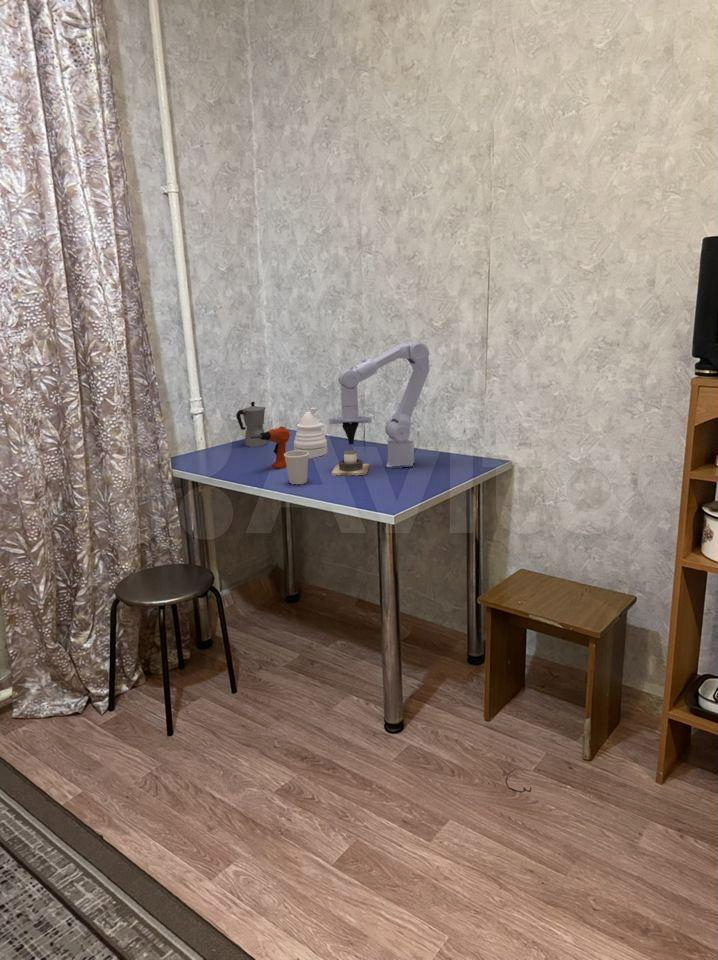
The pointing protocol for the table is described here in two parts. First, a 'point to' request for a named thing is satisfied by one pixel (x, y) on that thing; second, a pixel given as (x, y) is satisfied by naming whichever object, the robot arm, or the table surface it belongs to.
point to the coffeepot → (252, 424)
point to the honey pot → (310, 435)
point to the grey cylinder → (350, 456)
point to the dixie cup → (297, 466)
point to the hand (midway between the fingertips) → (351, 443)
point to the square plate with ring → (350, 468)
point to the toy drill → (280, 438)
